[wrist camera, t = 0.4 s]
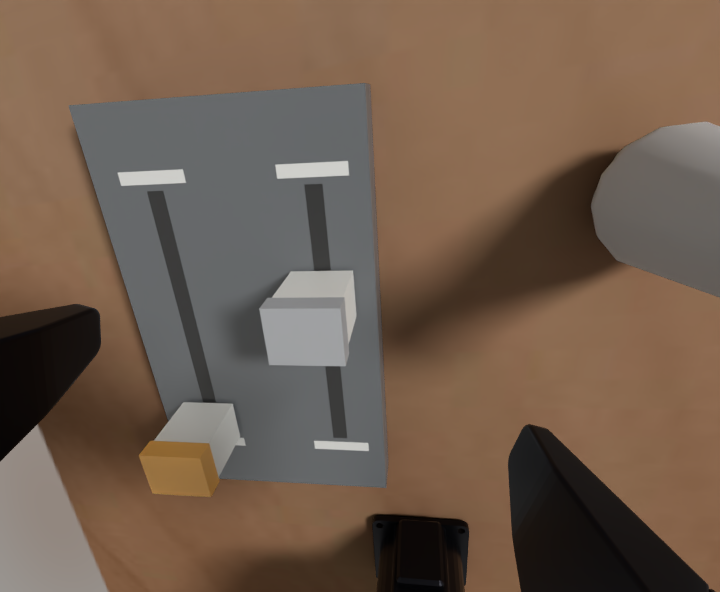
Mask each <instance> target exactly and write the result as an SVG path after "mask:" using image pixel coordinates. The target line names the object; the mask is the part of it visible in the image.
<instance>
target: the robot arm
mask: <svg viewBox="0 0 720 592" xmlns="http://www.w3.org/2000/svg"><path fill="white" fill-rule="evenodd" d="M100 345H101V331H100V314H99V312H98V311H97V310H96V309H95V308H91V307H88V306H84V305H80V304H73V305H67V306H61V307H55V308H50V309H44V310H38V311H33V312H27V313H21V314H15V315H10V316H4V317H0V461H1V460H2V459H3V458H4V457H5V456H6V455H7V454H8V453H9V452H10V451H11V450H12V449H13V448H14V447H15V446H16V445H17V444H18V443H19V442H20V441H21V440H22V439H23V438H24V437H25V436H26V435H27V434H28V433H29V432H30V431H31V430H32V429H33V428H34V427H35V426H36V425H37V424H38V423H39V422H40V421H41V420H42V419H43V418H44V417H45V416H46V415H47V414H48V413H49V411H50V410H51V409H52V408H53V407H54V406H55V405H56V403H57V402H58V401H59V400H60V399H61V397H62V396H63V395H64V394H65V392H66V391H67V390H68V389H69V388H70V386H71V385H72V384H73V383H74V381H75V380H76V379H77V378H78V377H79V375H80V374H81V373H82V372H83V370H84V369H85V368H86V367H87V366H88V364H89V363H90V362H91V361H92V359H93V358H94V357H95V356H96V354H97V353H98V351H99V349H100ZM508 471H509V489H510V507H511V525H512V537H513V545H514V552H515V558H516V564H517V570H518V576H519V582H520V588H521V592H715V591H714V590H712V589H709V586H708V584H707V583H706V582H705V581H704V580H703V579H702V578H701V577H700V576H699V575H698V574H697V573H695V572H694V571H693V570H692V569H691V568H690V567H689V566H688V565H687V564H686V563H685V562H684V561H683V560H682V559H681V558H680V557H679V556H678V555H677V554H676V553H675V552H674V551H673V550H672V549H671V548H670V547H669V546H668V545H667V544H666V543H665V542H664V541H663V540H661V539H660V538H659V537H658V536H657V535H656V534H655V533H654V532H653V531H652V530H651V529H650V528H649V527H648V526H647V525H646V524H645V523H644V522H643V521H642V520H641V519H640V518H639V517H638V516H637V515H636V514H635V513H634V512H633V511H632V510H631V509H630V508H629V507H627V506H626V505H625V504H624V503H623V502H622V501H621V500H620V499H619V498H618V497H617V496H616V495H615V494H614V493H613V492H612V491H611V490H610V489H609V488H608V487H607V486H606V485H605V484H604V483H603V482H602V481H601V480H600V479H599V478H598V477H597V476H596V475H595V474H593V473H592V472H591V471H590V470H589V469H588V468H587V467H586V466H585V465H584V464H583V463H582V462H581V461H580V460H579V459H578V458H577V457H576V456H575V455H574V454H573V453H572V452H571V451H570V450H569V449H568V448H567V447H566V446H565V445H564V444H563V443H562V442H561V441H559V440H558V439H557V438H556V437H555V436H554V435H553V434H552V433H551V432H550V431H549V430H548V429H546V428H542V427H539V426H535V425H531V424H528V425H525V426H524V427H523V429H522V431H521V433H520V435H519V437H518V439H517V441H516V443H515V445H514V447H513V449H512V451H511V453H510V456H509V460H508ZM372 526H373V540H374V553H375V566H376V577H377V578H378V580H377V592H465V589H464V586H465V584H466V573H467V557H468V540H469V527H468V524H467V523H466V522H464V521H459V520H443V519H427V518H412V517H396V516H381V515H379V516H375V517H374V518H373V524H372Z"/></svg>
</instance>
